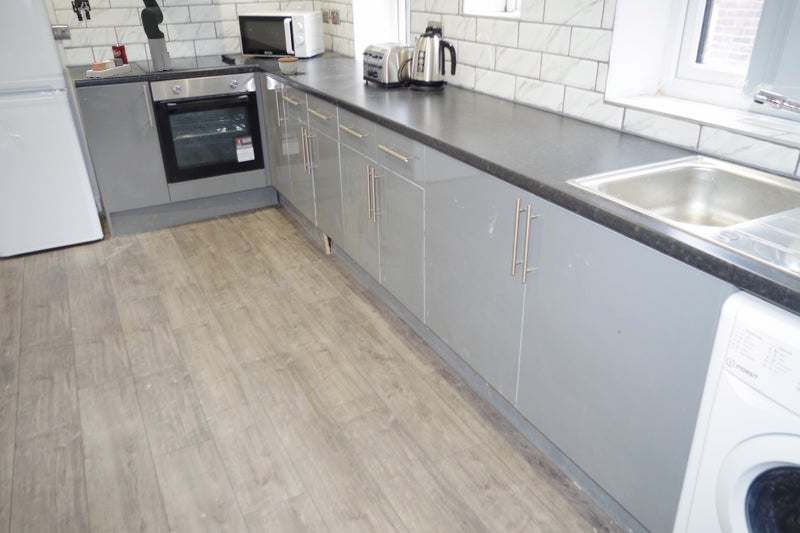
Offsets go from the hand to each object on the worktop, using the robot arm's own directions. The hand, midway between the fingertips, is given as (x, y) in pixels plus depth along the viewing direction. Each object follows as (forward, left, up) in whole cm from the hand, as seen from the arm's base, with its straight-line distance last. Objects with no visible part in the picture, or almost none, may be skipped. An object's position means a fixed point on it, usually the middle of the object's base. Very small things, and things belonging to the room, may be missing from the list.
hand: (84, 20), depth 338 cm
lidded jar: (-121, -2, -27) cm, 124 cm away
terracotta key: (-19, +20, -24) cm, 37 cm away
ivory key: (-19, +13, -24) cm, 33 cm away
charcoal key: (-19, +6, -24) cm, 31 cm away
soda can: (-7, -14, -27) cm, 31 cm away
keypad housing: (-19, +13, -27) cm, 35 cm away
